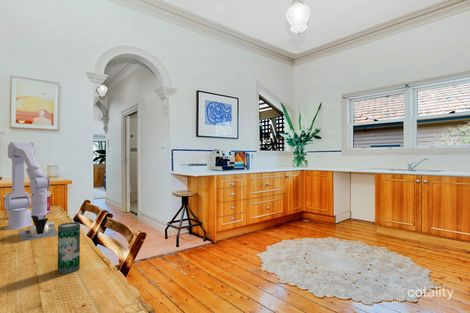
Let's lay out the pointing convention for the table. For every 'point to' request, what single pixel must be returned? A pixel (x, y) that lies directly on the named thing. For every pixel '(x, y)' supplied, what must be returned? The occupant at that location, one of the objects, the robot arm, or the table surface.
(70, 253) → the can
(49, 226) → the block
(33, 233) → the plug
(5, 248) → the table surface
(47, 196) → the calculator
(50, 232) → the mat
